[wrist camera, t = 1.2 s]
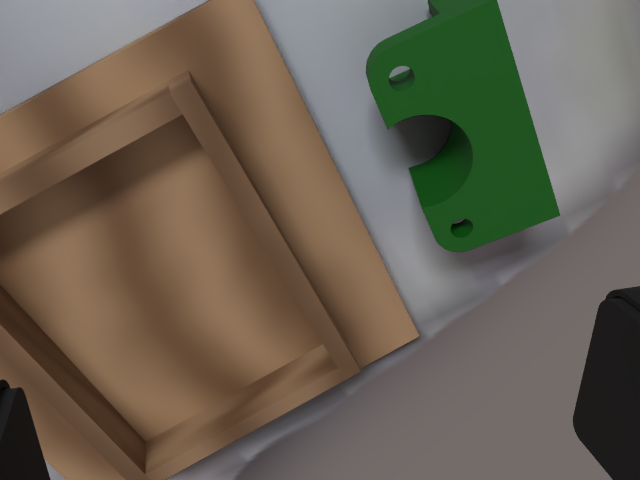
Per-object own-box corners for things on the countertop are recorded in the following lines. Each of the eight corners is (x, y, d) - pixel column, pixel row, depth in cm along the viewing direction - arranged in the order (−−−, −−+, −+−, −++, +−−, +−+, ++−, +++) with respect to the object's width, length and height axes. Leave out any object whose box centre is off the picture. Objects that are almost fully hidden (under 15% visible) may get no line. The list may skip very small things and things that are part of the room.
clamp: (360, 47, 34) (342, 22, 25) (462, -1, 33) (479, -45, 24) (440, 242, 36) (449, 281, 27) (540, 202, 34) (584, 230, 26)
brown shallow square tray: (241, -18, 27) (253, -13, 24) (412, 325, 38) (436, 360, 35) (-190, 219, 27) (-237, 256, 24) (102, 495, 38) (97, 547, 35)
